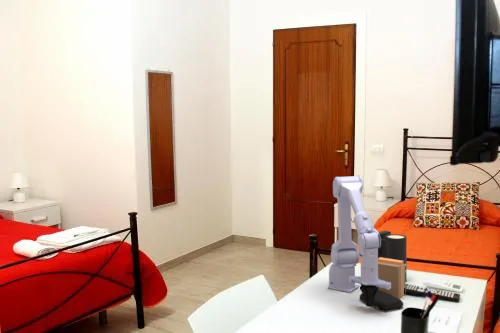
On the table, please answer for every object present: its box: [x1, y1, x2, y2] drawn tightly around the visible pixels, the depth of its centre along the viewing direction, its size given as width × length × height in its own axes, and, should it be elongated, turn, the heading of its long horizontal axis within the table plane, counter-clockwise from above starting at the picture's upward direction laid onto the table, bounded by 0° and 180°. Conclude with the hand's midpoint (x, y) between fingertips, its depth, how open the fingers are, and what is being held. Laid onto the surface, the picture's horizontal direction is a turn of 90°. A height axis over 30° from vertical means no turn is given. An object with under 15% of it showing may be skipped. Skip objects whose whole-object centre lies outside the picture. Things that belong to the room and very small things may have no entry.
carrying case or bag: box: [359, 290, 404, 312], centre depth 181 cm, size 11×3×15 cm
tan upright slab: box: [378, 257, 406, 300], centre depth 190 cm, size 8×9×13 cm
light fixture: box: [377, 229, 408, 283], centre depth 207 cm, size 10×14×18 cm
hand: (369, 306), depth 175 cm, fingers closed
